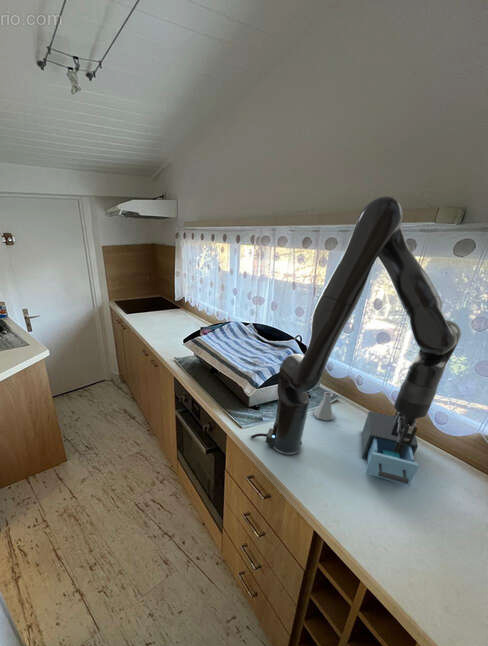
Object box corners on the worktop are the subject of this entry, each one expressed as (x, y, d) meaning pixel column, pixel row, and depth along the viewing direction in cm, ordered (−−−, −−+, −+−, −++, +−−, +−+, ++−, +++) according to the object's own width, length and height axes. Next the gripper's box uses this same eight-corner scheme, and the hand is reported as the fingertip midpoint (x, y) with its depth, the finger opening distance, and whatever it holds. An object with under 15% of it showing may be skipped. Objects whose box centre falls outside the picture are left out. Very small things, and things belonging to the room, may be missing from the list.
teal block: (379, 469, 93) (383, 458, 91) (378, 460, 96) (382, 449, 94) (396, 473, 91) (400, 462, 89) (394, 464, 94) (399, 453, 92)
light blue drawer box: (411, 498, 84) (421, 478, 81) (365, 484, 89) (372, 464, 85) (404, 456, 99) (412, 437, 95) (364, 446, 103) (371, 428, 100)
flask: (334, 421, 117) (340, 399, 113) (315, 419, 119) (320, 398, 114) (331, 411, 124) (336, 390, 119) (312, 409, 125) (316, 388, 120)
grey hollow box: (407, 469, 95) (418, 445, 90) (362, 457, 100) (370, 434, 95) (402, 442, 106) (411, 419, 102) (361, 432, 111) (369, 410, 107)
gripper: (438, 413, 74) (415, 463, 82) (427, 387, 85) (408, 433, 93) (401, 406, 77) (383, 455, 85) (396, 381, 88) (380, 426, 96)
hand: (396, 443), depth 89 cm, fingers open, 8 cm apart
